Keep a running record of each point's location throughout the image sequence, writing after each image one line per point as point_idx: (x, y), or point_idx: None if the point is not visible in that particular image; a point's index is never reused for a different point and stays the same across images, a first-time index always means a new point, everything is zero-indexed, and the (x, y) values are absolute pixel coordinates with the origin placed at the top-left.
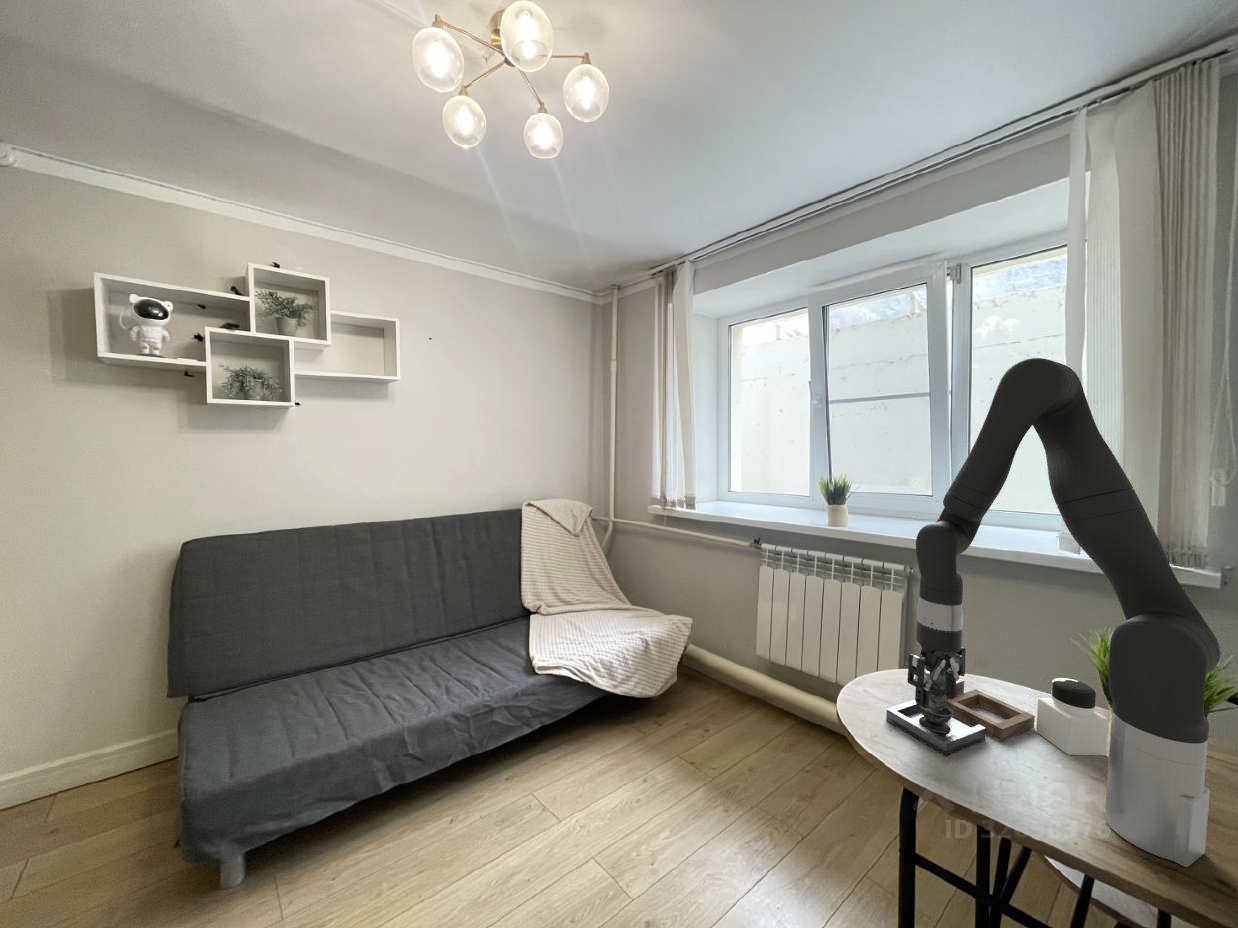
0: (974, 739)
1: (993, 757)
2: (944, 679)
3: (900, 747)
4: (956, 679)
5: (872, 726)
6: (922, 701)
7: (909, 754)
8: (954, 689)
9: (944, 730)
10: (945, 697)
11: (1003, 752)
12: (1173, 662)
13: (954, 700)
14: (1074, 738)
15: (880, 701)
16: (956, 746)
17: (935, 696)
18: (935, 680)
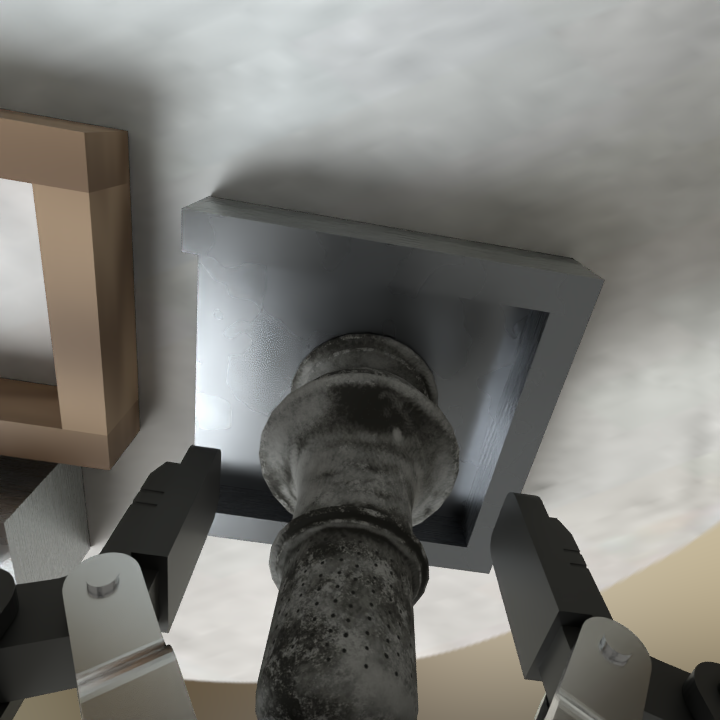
0: (316, 220)
1: (352, 93)
2: (358, 645)
3: (658, 410)
4: (125, 571)
5: (574, 534)
6: (572, 545)
7: (689, 365)
8: (183, 497)
9: (387, 350)
10: (53, 474)
11: (240, 76)
12: None
13: (55, 438)
14: None
15: None
16: (489, 251)
17: (411, 526)
18: (563, 697)
